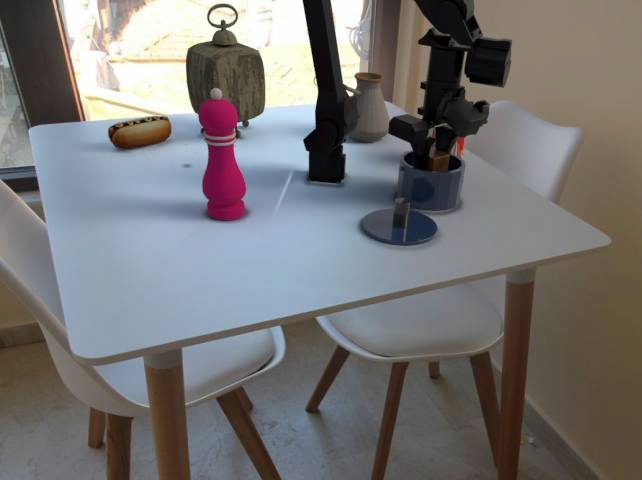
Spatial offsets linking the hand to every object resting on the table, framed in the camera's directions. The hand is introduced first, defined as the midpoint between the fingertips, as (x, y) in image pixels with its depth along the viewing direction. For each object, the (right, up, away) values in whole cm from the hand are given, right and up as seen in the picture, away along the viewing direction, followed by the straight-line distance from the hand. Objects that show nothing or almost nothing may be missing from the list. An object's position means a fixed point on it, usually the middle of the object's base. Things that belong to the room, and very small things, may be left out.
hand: (431, 170), depth 112 cm
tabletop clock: (-42, +16, +24) cm, 50 cm away
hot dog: (-58, +10, +15) cm, 61 cm away
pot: (0, -4, +4) cm, 6 cm away
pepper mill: (-36, -10, -6) cm, 38 cm away
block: (0, -1, +1) cm, 1 cm away
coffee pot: (-15, +16, +26) cm, 34 cm away
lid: (-6, -12, -7) cm, 16 cm away
